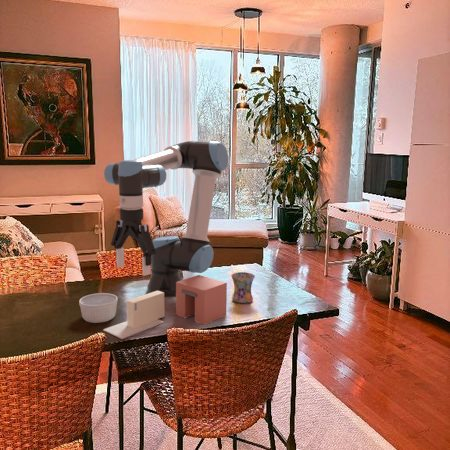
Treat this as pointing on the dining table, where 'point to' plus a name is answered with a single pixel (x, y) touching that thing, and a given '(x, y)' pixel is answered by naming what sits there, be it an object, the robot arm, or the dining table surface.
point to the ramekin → (98, 307)
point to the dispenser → (201, 298)
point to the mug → (242, 287)
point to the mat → (129, 329)
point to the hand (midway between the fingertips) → (133, 270)
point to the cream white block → (145, 309)
